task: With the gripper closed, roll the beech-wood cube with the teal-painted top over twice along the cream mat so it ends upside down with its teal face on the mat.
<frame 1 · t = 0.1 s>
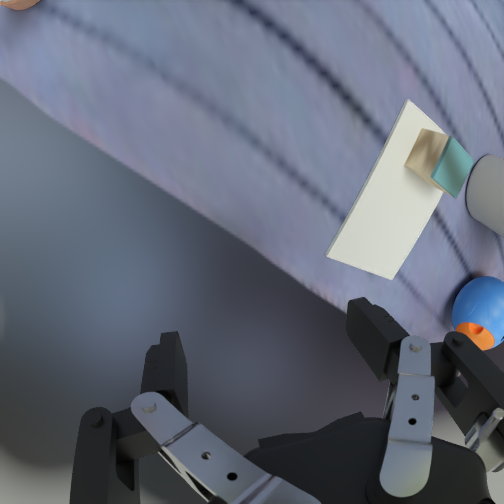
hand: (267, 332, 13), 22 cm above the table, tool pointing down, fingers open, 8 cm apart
cylinder vase: (483, 186, 40), on the table
treat dispenser ball: (463, 292, 53), on the table
cream mat: (401, 197, 37), on the table
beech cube: (425, 156, 34), point 1 cm above the table, touching cream mat
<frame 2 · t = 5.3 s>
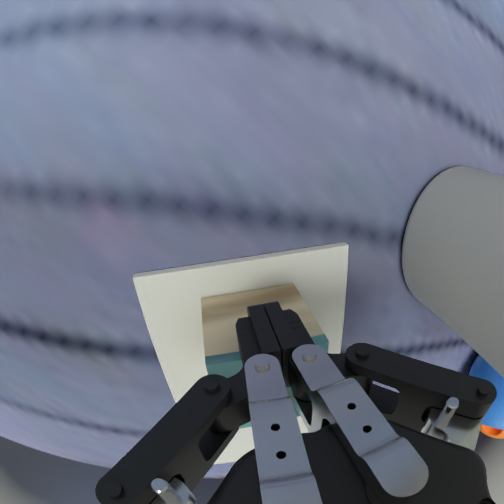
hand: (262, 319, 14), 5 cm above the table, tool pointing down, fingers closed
cylinder vase: (448, 235, 22), on the table
treat dispenser ball: (482, 353, 31), on the table
cream mat: (257, 387, 23), on the table
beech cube: (251, 328, 20), point 1 cm above the table, touching cream mat, gripper
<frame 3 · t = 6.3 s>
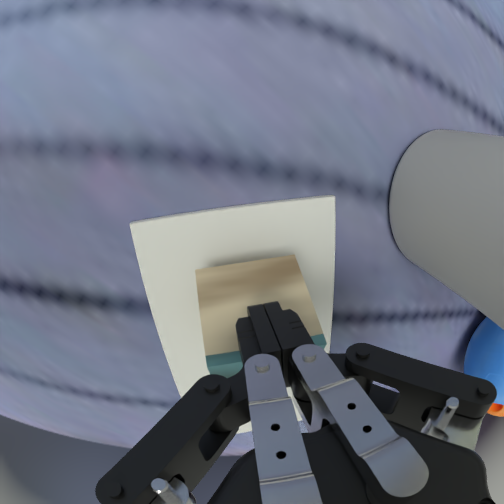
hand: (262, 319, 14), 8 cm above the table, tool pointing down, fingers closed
cylinder vase: (436, 197, 23), on the table
treat dispenser ball: (479, 330, 32), on the table
cream mat: (250, 347, 24), on the table
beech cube: (246, 290, 20), point 2 cm above the table, tilted 27°, touching cream mat, gripper
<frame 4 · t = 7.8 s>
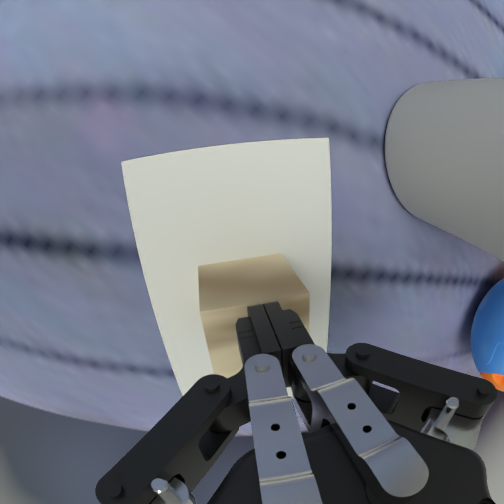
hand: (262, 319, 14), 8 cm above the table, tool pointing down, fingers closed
cylinder vase: (432, 151, 22), on the table
treat dispenser ball: (484, 304, 31), on the table
cream mat: (244, 303, 23), on the table
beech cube: (246, 278, 18), point 4 cm above the table, tilted 90°, touching cream mat
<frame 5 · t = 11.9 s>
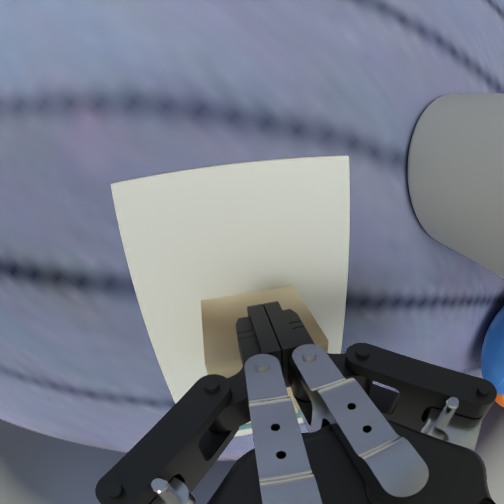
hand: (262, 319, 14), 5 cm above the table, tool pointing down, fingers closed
cylinder vase: (454, 168, 19), on the table
treat dispenser ball: (495, 321, 29), on the table
cream mat: (251, 336, 21), on the table
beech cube: (256, 319, 16), point 4 cm above the table, tilted 90°, touching cream mat, gripper
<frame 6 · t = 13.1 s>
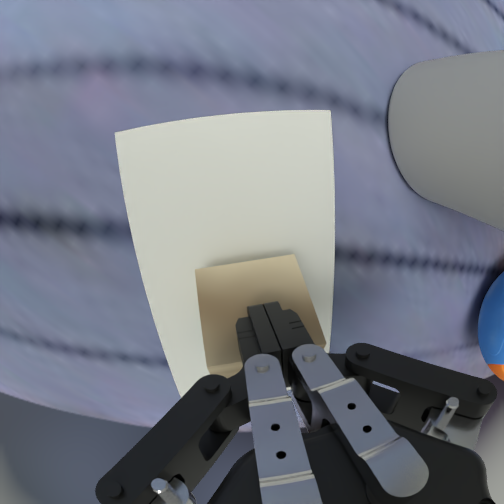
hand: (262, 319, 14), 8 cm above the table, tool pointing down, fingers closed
cylinder vase: (436, 131, 20), on the table
treat dispenser ball: (491, 294, 30), on the table
cream mat: (242, 285, 22), on the table
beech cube: (255, 304, 16), point 6 cm above the table, tilted 117°, touching cream mat, gripper
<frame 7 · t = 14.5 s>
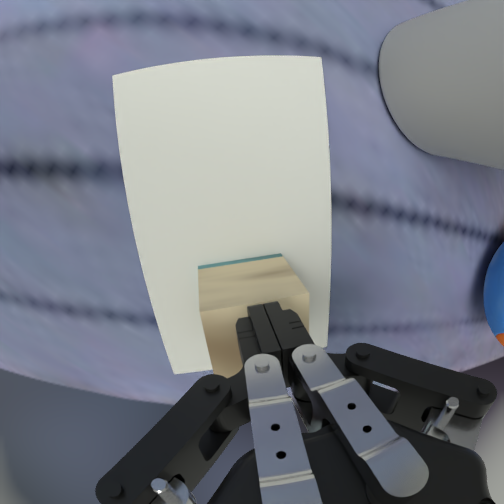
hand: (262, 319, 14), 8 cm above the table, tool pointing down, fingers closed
cylinder vase: (429, 87, 19), on the table
treat dispenser ball: (495, 265, 29), on the table
cream mat: (235, 230, 21), on the table
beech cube: (259, 345, 17), point 7 cm above the table, tilted 180°, touching cream mat
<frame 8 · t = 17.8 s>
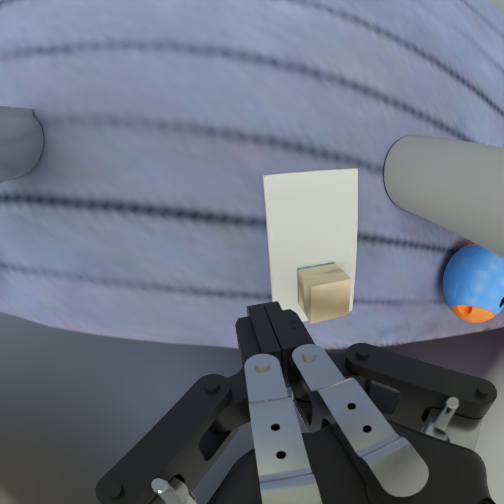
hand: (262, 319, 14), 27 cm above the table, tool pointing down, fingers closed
cylinder vase: (410, 172, 42), on the table
treat dispenser ball: (453, 267, 52), on the table
cream mat: (314, 251, 44), on the table
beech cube: (331, 301, 40), point 7 cm above the table, tilted 180°, touching cream mat
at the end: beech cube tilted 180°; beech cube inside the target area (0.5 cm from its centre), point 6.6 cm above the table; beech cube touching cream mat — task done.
